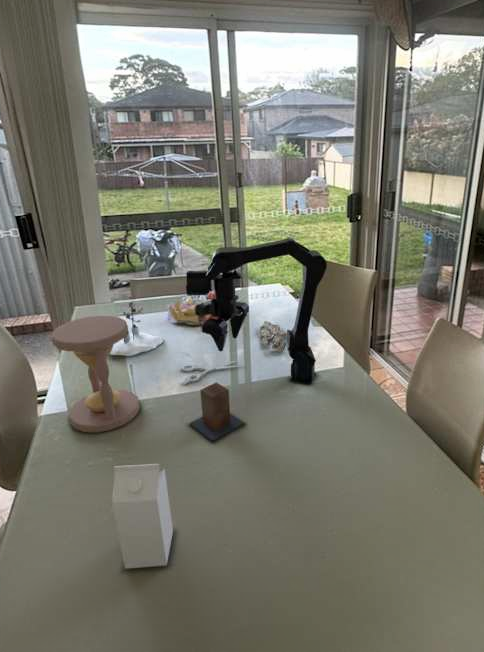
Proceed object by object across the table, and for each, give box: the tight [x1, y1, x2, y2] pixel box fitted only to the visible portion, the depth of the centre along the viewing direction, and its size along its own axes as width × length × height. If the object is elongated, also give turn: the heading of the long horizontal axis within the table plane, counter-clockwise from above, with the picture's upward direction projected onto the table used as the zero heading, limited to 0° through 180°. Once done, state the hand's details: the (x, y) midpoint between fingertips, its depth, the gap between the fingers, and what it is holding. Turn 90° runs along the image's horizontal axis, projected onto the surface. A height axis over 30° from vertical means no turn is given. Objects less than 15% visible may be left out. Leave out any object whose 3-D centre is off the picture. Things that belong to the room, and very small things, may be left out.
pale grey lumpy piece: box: [259, 320, 287, 354], centre depth 161 cm, size 25×10×5 cm
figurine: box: [110, 301, 164, 357], centre depth 154 cm, size 20×18×16 cm
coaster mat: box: [189, 413, 245, 443], centre depth 113 cm, size 10×10×1 cm
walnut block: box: [199, 382, 231, 431], centre depth 111 cm, size 5×5×10 cm
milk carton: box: [111, 463, 174, 569], centre depth 76 cm, size 7×7×19 cm
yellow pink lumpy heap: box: [167, 290, 219, 326], centre depth 182 cm, size 25×24×9 cm
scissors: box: [181, 360, 240, 385], centre depth 140 cm, size 11×1×20 cm
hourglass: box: [51, 315, 141, 434], centre depth 114 cm, size 18×18×25 cm
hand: (228, 344), depth 128 cm, fingers open, 9 cm apart
